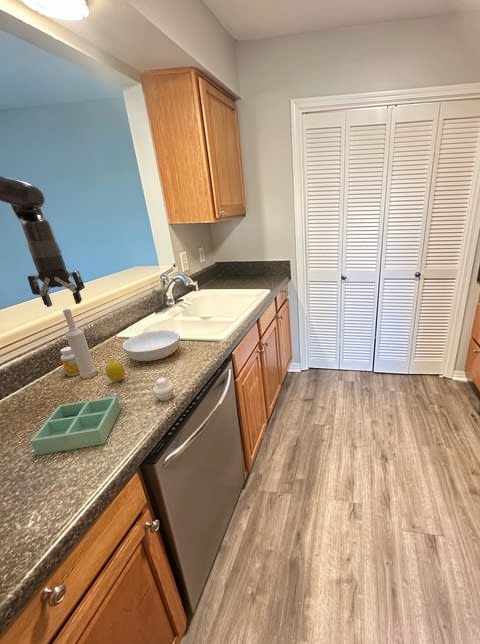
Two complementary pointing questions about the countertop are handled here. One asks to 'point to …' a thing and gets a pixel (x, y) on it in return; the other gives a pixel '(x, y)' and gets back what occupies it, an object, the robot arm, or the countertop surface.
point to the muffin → (163, 389)
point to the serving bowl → (152, 345)
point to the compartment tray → (77, 426)
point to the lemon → (115, 370)
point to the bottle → (79, 347)
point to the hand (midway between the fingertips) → (64, 304)
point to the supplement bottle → (69, 362)
